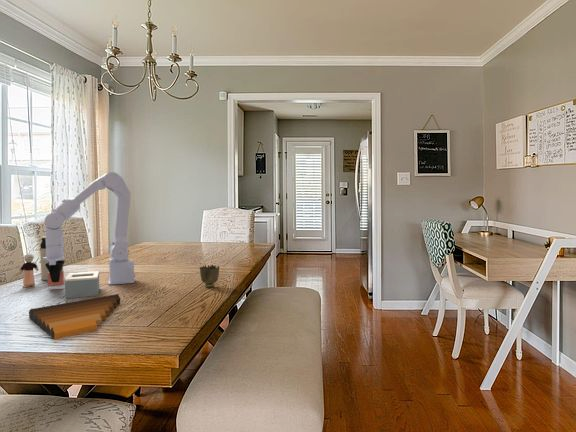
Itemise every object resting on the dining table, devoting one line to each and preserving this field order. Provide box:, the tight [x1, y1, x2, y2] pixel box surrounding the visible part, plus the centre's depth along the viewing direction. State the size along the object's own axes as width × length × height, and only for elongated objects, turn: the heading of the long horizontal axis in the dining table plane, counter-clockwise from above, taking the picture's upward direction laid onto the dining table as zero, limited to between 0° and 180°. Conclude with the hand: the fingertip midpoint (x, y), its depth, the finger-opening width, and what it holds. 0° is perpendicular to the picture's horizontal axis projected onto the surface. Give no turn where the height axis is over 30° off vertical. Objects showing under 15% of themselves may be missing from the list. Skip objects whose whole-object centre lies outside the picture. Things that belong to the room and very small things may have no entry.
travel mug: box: [39, 235, 64, 281], centre depth 170 cm, size 8×8×18 cm
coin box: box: [64, 270, 100, 299], centre depth 146 cm, size 10×12×6 cm
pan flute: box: [28, 293, 121, 340], centre depth 117 cm, size 25×3×25 cm
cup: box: [199, 264, 220, 289], centre depth 155 cm, size 8×7×8 cm
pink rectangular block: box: [47, 270, 65, 287], centre depth 152 cm, size 5×3×5 cm, turn 113°
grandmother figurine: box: [18, 253, 40, 288], centre depth 157 cm, size 8×4×13 cm, turn 168°
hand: (56, 281), depth 152 cm, fingers closed on pink rectangular block, 3 cm apart
